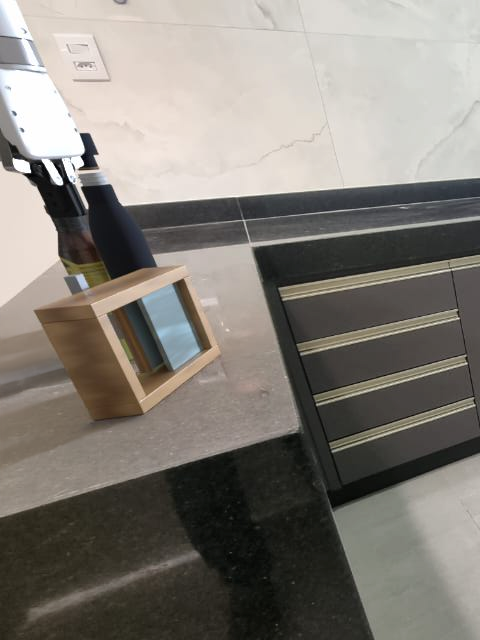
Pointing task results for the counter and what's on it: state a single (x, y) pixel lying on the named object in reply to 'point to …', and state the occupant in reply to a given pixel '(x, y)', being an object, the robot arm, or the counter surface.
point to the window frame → (107, 352)
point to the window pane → (127, 328)
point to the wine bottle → (111, 221)
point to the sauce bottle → (79, 250)
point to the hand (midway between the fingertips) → (70, 216)
